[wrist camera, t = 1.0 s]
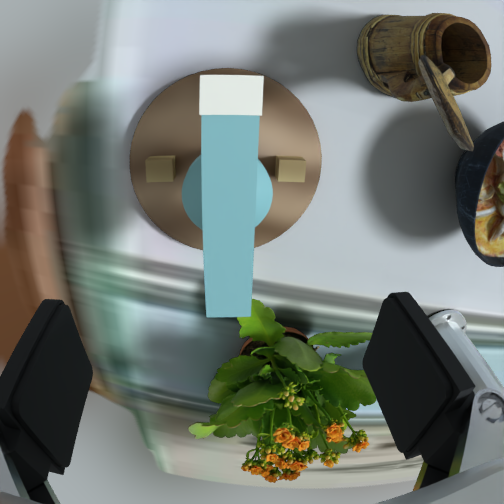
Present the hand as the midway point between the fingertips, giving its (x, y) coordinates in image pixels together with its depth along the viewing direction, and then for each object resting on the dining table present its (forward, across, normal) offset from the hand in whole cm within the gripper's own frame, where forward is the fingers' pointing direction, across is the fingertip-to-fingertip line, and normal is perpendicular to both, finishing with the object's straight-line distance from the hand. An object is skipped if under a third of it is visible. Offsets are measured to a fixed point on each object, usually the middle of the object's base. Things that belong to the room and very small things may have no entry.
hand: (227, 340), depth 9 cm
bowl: (+24, -32, -1) cm, 39 cm away
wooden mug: (+24, -16, -11) cm, 30 cm away
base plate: (+24, 0, 0) cm, 24 cm away
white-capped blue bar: (+15, 0, 0) cm, 15 cm away
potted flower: (+24, -8, +24) cm, 35 cm away
